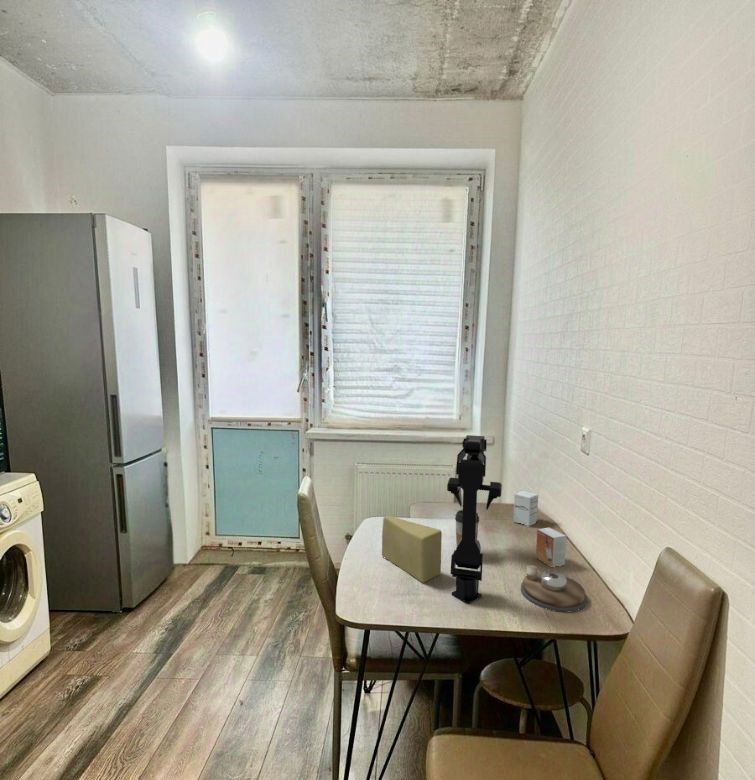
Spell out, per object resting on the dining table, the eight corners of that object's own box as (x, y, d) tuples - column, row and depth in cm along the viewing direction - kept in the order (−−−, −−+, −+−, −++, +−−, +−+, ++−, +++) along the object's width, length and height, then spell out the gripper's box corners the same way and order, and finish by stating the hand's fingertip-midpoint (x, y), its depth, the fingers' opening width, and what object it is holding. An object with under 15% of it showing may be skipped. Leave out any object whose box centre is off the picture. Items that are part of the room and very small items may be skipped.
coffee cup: (476, 561, 152) (478, 519, 151) (452, 557, 154) (453, 515, 153) (479, 551, 160) (480, 511, 158) (456, 548, 162) (457, 508, 161)
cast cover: (558, 595, 126) (558, 584, 126) (535, 584, 132) (536, 574, 131) (570, 587, 130) (571, 577, 130) (548, 577, 136) (549, 568, 136)
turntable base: (566, 619, 119) (566, 616, 119) (506, 590, 133) (506, 586, 133) (597, 597, 130) (598, 594, 130) (539, 572, 145) (539, 569, 144)
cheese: (372, 560, 152) (373, 517, 151) (392, 551, 159) (393, 511, 158) (422, 584, 136) (423, 537, 135) (442, 574, 143) (443, 528, 142)
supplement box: (512, 522, 188) (513, 493, 187) (521, 518, 193) (522, 489, 192) (528, 527, 183) (530, 497, 182) (537, 523, 188) (538, 494, 187)
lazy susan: (565, 614, 119) (566, 596, 119) (511, 588, 132) (511, 571, 132) (595, 593, 130) (596, 577, 129) (542, 571, 143) (543, 556, 143)
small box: (535, 558, 155) (536, 528, 154) (547, 555, 157) (549, 526, 156) (552, 568, 148) (553, 537, 147) (565, 565, 150) (566, 535, 149)
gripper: (503, 461, 161) (501, 499, 166) (451, 456, 167) (451, 493, 171) (501, 475, 151) (500, 515, 156) (446, 470, 156) (446, 509, 161)
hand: (473, 507), depth 161 cm, fingers open, 9 cm apart
